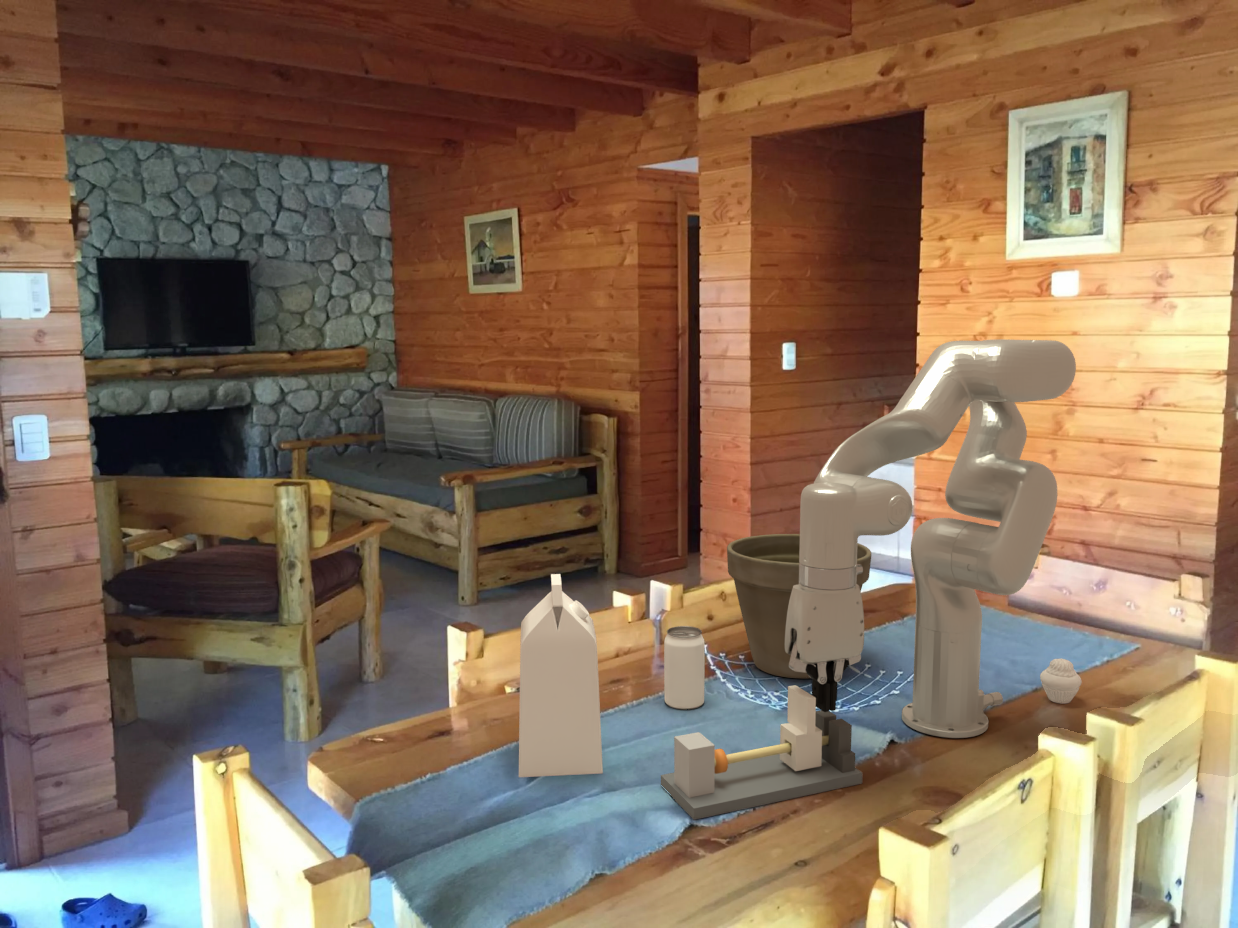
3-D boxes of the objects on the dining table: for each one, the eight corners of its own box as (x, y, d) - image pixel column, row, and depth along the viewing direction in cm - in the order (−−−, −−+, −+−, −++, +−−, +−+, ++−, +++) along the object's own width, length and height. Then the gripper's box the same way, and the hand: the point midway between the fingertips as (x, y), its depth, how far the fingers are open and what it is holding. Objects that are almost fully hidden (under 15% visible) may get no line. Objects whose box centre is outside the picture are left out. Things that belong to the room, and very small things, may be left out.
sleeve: (803, 752, 140) (804, 683, 138) (823, 767, 135) (824, 696, 134) (778, 757, 138) (779, 687, 137) (797, 772, 134) (798, 700, 132)
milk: (519, 740, 150) (515, 569, 146) (597, 737, 151) (594, 567, 147) (518, 777, 138) (513, 592, 134) (602, 773, 139) (600, 589, 135)
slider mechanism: (820, 753, 144) (821, 700, 143) (862, 783, 135) (863, 727, 134) (660, 785, 135) (660, 729, 134) (693, 819, 126) (693, 759, 125)
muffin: (1086, 699, 163) (1088, 657, 162) (1072, 710, 159) (1074, 667, 158) (1047, 689, 167) (1049, 649, 166) (1032, 700, 163) (1034, 658, 162)
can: (701, 711, 160) (702, 638, 158) (661, 708, 161) (661, 636, 159) (706, 696, 166) (706, 626, 164) (667, 693, 167) (667, 624, 166)
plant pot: (823, 636, 196) (825, 527, 193) (896, 679, 173) (900, 556, 170) (704, 651, 188) (704, 537, 185) (764, 698, 165) (765, 569, 162)
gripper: (857, 564, 141) (854, 690, 143) (764, 575, 135) (761, 706, 138) (891, 577, 134) (886, 709, 136) (794, 588, 128) (791, 726, 131)
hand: (824, 707), depth 137 cm, fingers closed
